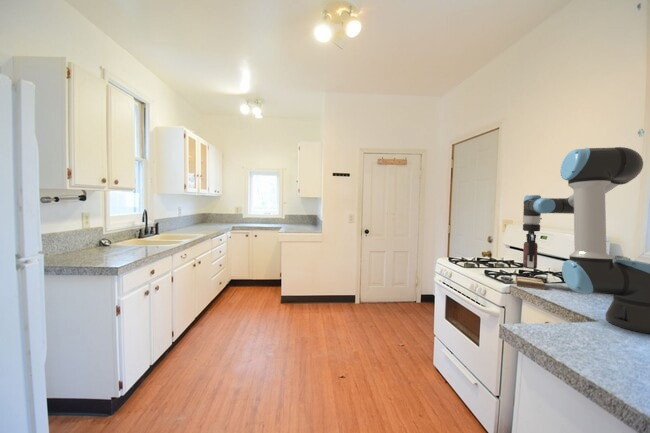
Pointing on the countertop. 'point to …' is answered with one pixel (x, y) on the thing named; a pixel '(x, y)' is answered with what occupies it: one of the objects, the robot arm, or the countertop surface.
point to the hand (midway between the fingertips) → (530, 266)
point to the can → (525, 256)
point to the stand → (530, 283)
